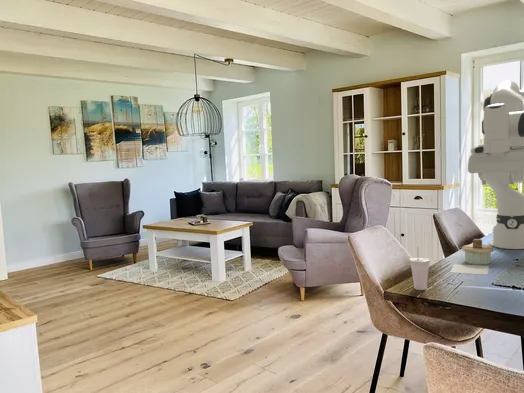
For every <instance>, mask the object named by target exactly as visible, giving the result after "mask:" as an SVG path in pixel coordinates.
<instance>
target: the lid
mask: <svg viewBox="0 0 524 393" xmlns="http://www.w3.org/2000/svg"><path fill="white" fill-rule="evenodd" d="M494 248H495V247H494V246H489V245H487V244H483V240H482V239H480V238H474V239H472V244H466V245H462V246H461V251H463V252H464V253H465V252H470V253H489V252H491V253H492V252H494Z"/></svg>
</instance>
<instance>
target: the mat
mask: <svg viewBox="0 0 524 393" xmlns="http://www.w3.org/2000/svg"><path fill="white" fill-rule="evenodd" d="M489 268H490V266H489V265H478V264H457V263H455V264H452V267H451V269H450V273H452V274H453V273H455V274H469V275H471V274H472V275H484V276H487V275H488V274H489Z"/></svg>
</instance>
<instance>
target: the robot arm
mask: <svg viewBox="0 0 524 393" xmlns="http://www.w3.org/2000/svg"><path fill="white" fill-rule="evenodd" d="M482 108H483V110H482V111H483V119H482V121H481V132H482V133H481V134H483V135H484V138H483V144H479V145H477V146H475V147H473V148H471V150H470V153H471V155H470V156H469V158H468V161H467V162H468V164H467V172H468V173H469V174H477V176H478V178H479V179H480V180H481V186H486V185H488V186H489V188H491V190H492V192H493V193H494V195H495V199H496V207H497V208H496V209H497V214H496V217H495V219H496V225H494V226H493V228H492V240H491V241H489V242H488V246H492V247H494V248H499V249H506V250H507V249H508V250H524V194H523V193H522V192H520V191H518V190H515V189H513V188H512V187H511V186H510V185H515V183H516V184H518V183H519V184H520V183H522V184H523V183H524V89H520V87H519V85H518V84H517V83H516V82H514V81H512V80H504V81H501V82H500V83H498V84H497V86H496V87H495V88H494V89H493V92H492V93H491V94H490V95H488V96H486V98H485V99H484V101H483V106H482Z"/></svg>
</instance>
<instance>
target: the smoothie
mask: <svg viewBox="0 0 524 393" xmlns="http://www.w3.org/2000/svg"><path fill="white" fill-rule="evenodd" d="M419 248H420V246H416V256H417V257H411V258H409V264H410V268H411V275H412V281H413V286H414V289H415V290H418V291H425V290H427V288H428V278H429V277H428V276H429V265H430V264H431V260H430V258H429V257H422V256H421V257H420V249H419Z"/></svg>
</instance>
